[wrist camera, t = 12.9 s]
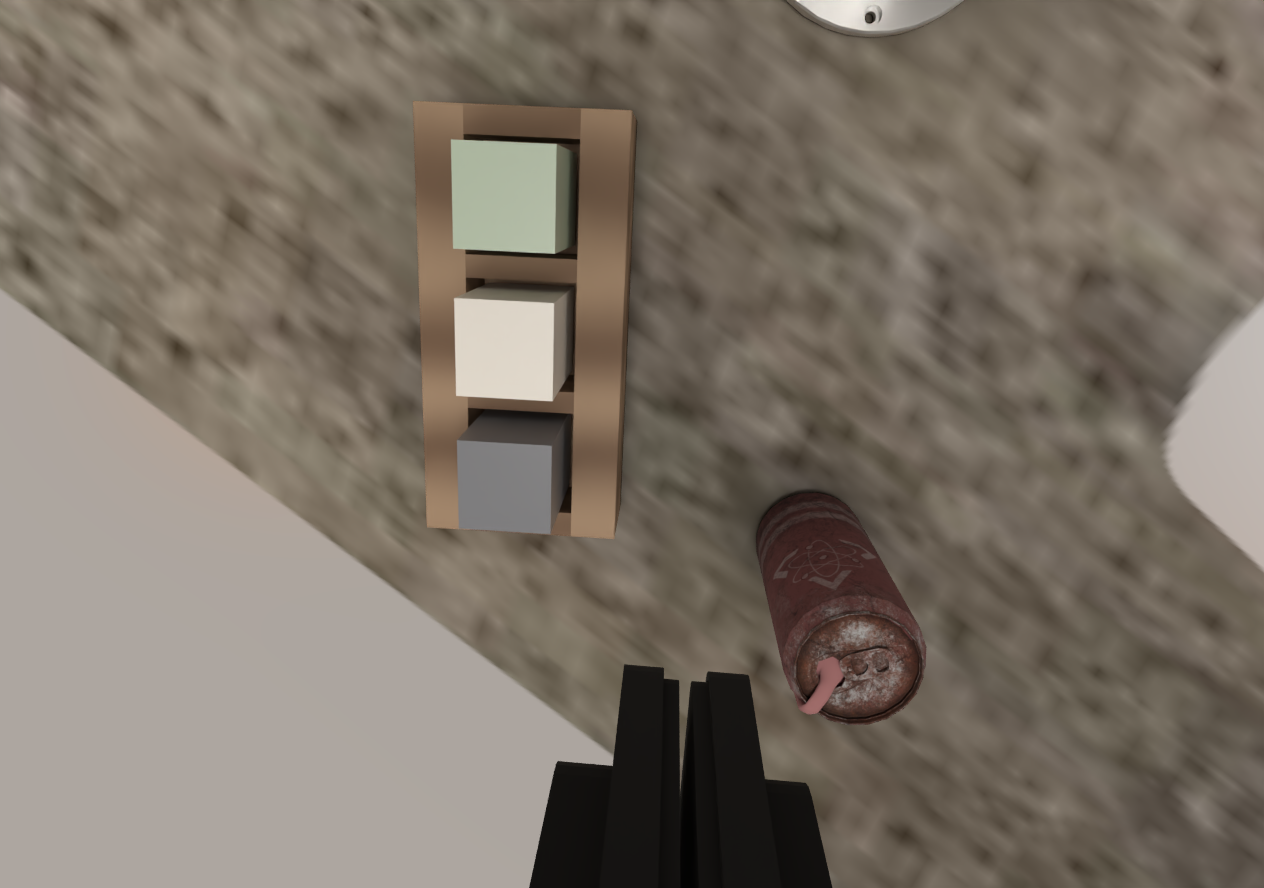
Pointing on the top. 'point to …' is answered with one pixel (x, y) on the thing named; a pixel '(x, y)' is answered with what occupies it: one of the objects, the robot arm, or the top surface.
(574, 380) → the brown wooden block rack
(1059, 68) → the top surface
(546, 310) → the key ivory
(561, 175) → the key sage
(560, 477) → the key charcoal
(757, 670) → the top surface
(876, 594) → the can
